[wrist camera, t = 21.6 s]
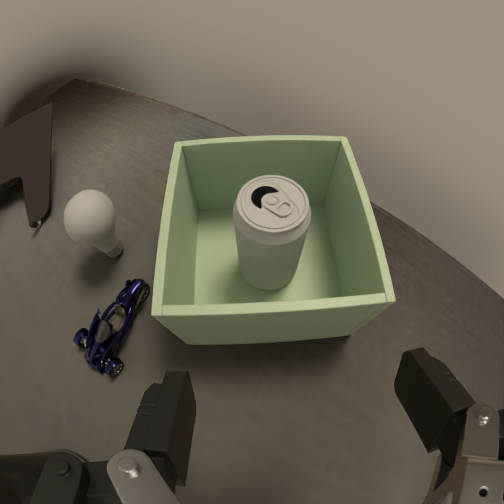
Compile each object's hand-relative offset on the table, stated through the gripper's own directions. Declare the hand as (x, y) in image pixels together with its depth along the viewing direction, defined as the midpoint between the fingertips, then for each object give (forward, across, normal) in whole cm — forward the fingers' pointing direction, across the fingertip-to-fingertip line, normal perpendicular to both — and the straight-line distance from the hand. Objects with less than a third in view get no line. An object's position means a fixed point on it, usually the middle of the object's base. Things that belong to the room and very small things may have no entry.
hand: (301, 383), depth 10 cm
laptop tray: (+36, +45, -7) cm, 58 cm away
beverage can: (+23, 0, +4) cm, 24 cm away
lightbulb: (+26, +19, +2) cm, 32 cm away
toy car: (+19, +17, +10) cm, 27 cm away
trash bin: (+24, 0, +4) cm, 24 cm away
